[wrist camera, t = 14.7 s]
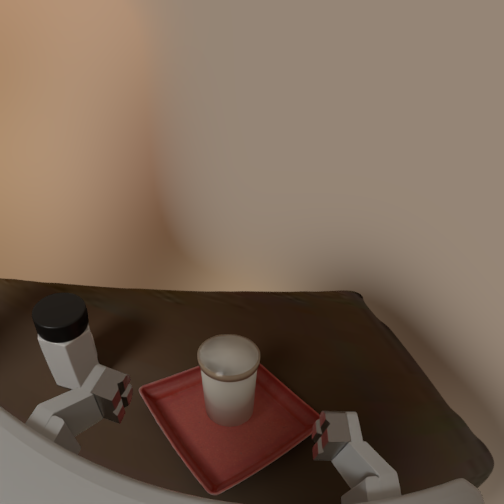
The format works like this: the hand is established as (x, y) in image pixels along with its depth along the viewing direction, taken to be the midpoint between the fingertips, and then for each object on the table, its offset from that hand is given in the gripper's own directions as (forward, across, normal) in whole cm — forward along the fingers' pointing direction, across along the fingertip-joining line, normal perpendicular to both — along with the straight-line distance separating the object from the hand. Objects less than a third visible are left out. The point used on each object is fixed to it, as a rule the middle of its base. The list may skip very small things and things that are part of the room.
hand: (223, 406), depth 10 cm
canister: (+14, -1, +20) cm, 25 cm away
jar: (+15, +23, +24) cm, 37 cm away
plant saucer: (+14, -1, +24) cm, 28 cm away
